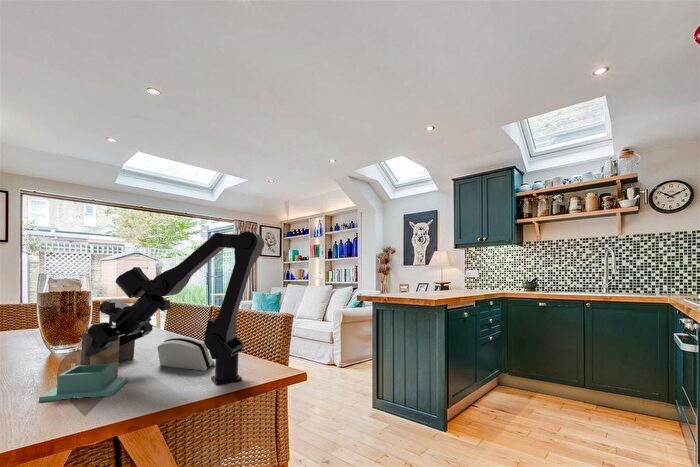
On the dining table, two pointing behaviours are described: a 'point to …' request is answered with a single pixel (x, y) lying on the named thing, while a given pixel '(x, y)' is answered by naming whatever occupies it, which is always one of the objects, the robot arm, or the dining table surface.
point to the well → (86, 382)
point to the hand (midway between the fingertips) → (100, 351)
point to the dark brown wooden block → (124, 351)
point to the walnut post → (108, 356)
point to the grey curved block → (184, 353)
